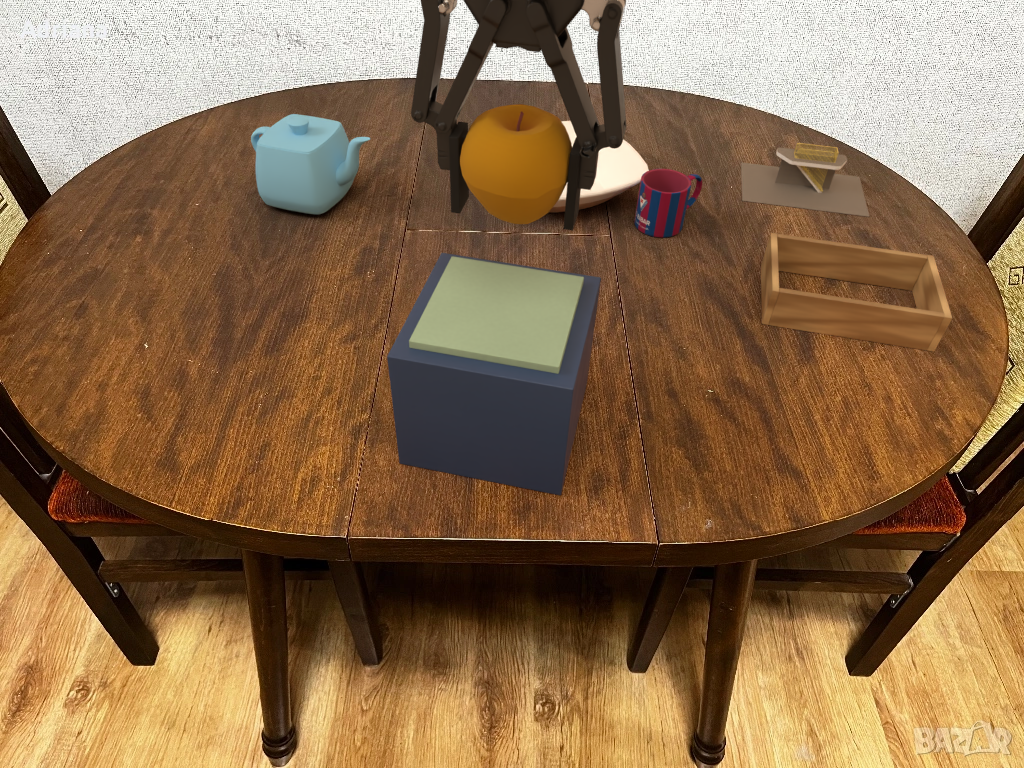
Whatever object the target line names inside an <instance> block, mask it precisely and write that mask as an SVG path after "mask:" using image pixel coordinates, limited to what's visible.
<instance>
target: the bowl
mask: <svg viewBox="0 0 1024 768" xmlns="http://www.w3.org/2000/svg"><path fill="white" fill-rule="evenodd" d="M561 122H562V123H563V125H564V126H565V128H566V130H567V133H568V135H569V138H570V140H571V143H572V146H573V144H574V141H575V139H576V137H577V136H576V134H575V131H574V129H573V126H572V123H571V121H570V120H561ZM649 170H650V169H649V166H648V163H647V162H646V161H645V160H644V158H643V157H642V156H641V154H640V153H639V152H638V151H637V150H636V149H635V148H634V147H633V146H632V145H631V144H630V143H629V142H628V141H626V140H625V138H623V142H622V144H621V146H620V147H618V148H615V149H614V148H610V147H606V148H603V149H601V150H600V151H599V154H598V163H597V172H596V178H595V181H594V184H593V186H592V188H591V189H590V190H586V189H581V191H580V201H579V211H580V210H584V209H589V208H593V207H596V206H598V205H601V204H604V203H606V202H609V200H612V199H613V198H615V197H617V196H619V195H622V193H624V192H626V191H628V190H629V189H632V188H633V187H635V186H637V185H638V184H640V182H641V176H642V175H643V174H644V173H645V172H647V171H649ZM566 193H567V184H566V186H565V188H564V190H563V192H562V194H561V196H560V199H559V200H558V201H557V203H556V204H555V205H554V206H553V208H552V209H551V210H550V211H549V212H548V213H565V205H566Z"/></svg>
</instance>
